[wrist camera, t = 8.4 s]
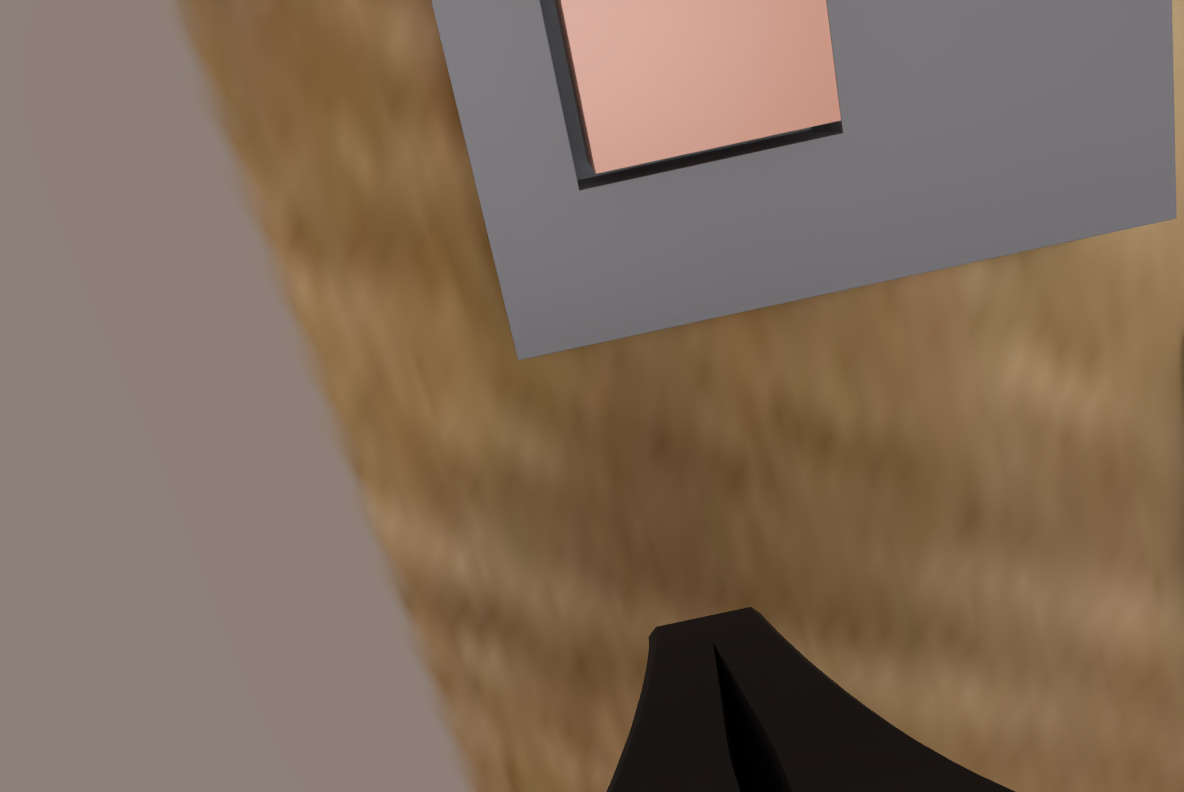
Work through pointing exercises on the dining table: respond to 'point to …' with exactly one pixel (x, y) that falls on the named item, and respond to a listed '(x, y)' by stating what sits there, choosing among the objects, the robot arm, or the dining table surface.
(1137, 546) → the dining table surface
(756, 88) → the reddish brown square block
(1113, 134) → the key panel
